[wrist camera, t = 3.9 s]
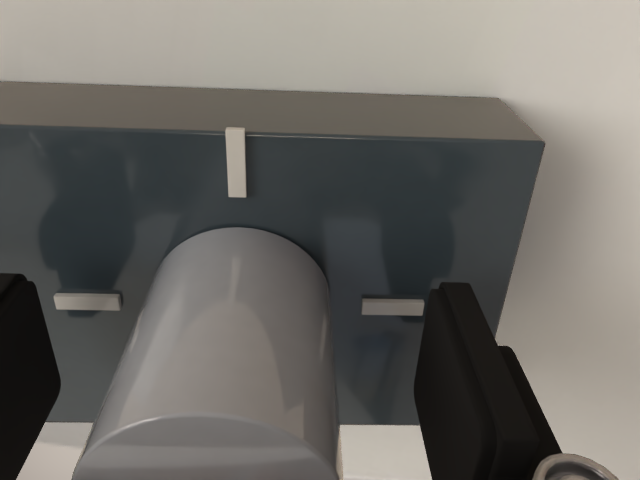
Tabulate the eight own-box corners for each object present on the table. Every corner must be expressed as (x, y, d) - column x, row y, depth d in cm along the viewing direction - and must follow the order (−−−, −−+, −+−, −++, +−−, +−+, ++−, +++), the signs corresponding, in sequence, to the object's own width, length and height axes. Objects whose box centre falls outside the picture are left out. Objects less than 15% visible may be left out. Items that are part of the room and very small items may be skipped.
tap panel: (58, 347, 17) (11, 430, 14) (-12, 76, 13) (-99, 120, 10) (447, 352, 17) (473, 434, 15) (501, 92, 13) (551, 139, 11)
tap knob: (161, 368, 13) (87, 604, 9) (141, 223, 11) (31, 432, 7) (326, 370, 14) (338, 602, 9) (335, 227, 12) (355, 433, 7)
